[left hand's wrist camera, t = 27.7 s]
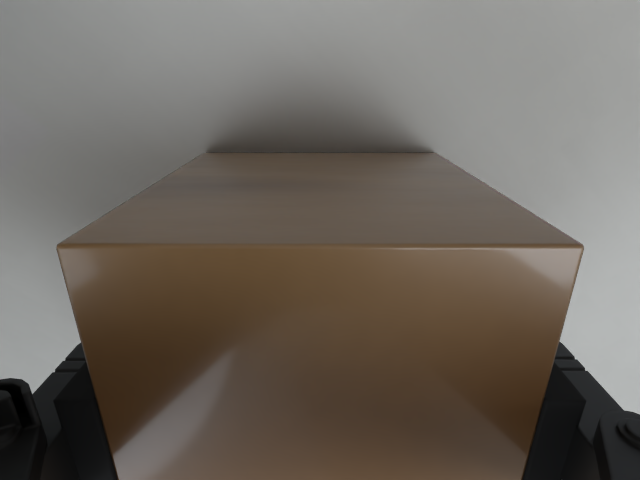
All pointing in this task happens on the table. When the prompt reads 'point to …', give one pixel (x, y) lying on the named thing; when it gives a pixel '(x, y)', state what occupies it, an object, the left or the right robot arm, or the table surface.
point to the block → (320, 320)
